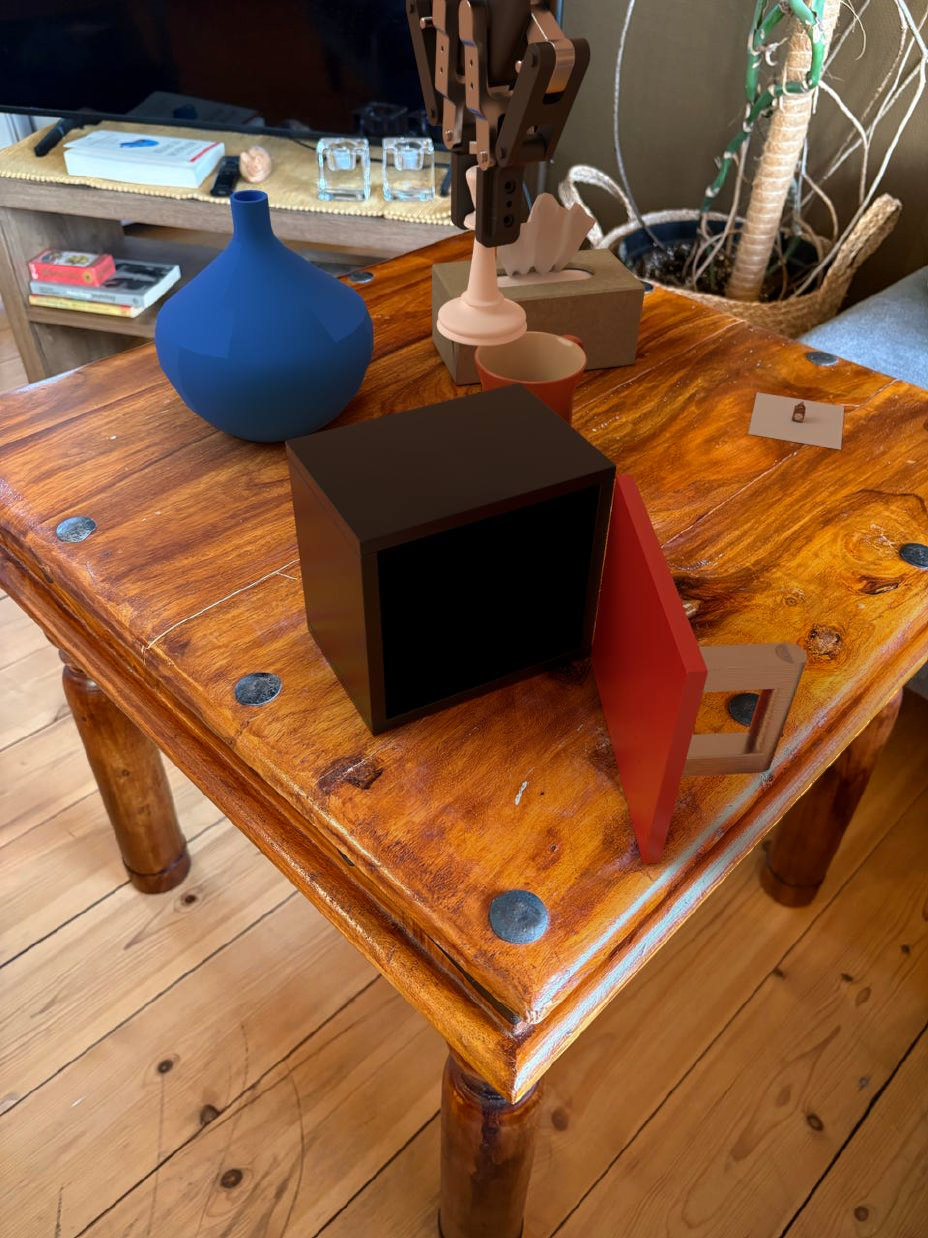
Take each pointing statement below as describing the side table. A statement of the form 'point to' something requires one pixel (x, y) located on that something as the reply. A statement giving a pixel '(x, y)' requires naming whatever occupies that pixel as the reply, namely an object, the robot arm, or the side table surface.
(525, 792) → the side table surface
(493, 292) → the chess piece
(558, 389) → the mug
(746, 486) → the side table surface
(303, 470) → the dark brown cabinet
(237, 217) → the vase
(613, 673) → the door
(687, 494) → the side table surface
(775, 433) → the grey square plate
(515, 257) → the tissue box
